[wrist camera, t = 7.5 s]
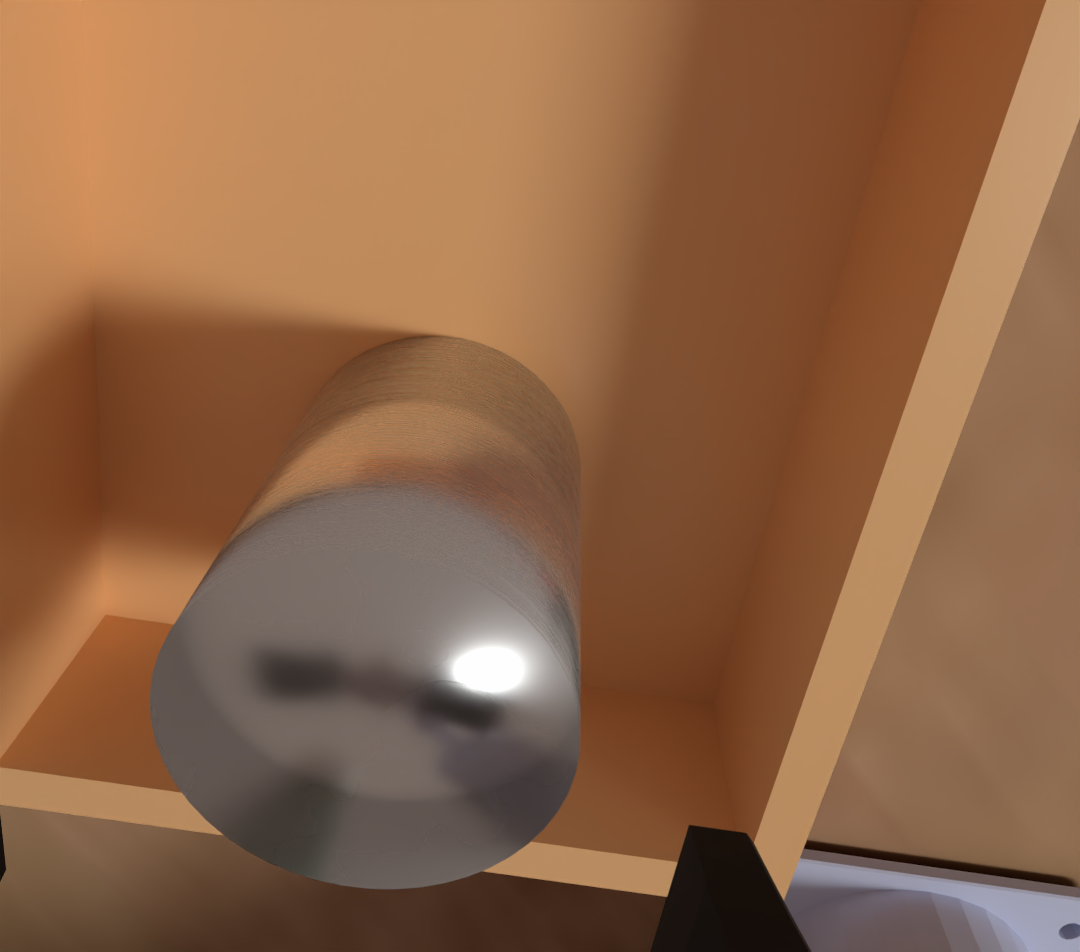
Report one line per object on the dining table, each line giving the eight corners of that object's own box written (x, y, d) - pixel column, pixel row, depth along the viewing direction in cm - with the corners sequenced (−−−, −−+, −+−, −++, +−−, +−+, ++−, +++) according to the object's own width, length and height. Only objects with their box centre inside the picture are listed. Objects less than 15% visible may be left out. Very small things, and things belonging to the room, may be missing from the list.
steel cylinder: (550, 610, 19) (535, 918, 13) (288, 562, 19) (145, 852, 13) (608, 367, 17) (624, 597, 11) (313, 309, 17) (154, 509, 11)
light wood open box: (736, 714, 21) (779, 911, 17) (83, 619, 21) (-52, 797, 16) (1057, -317, 13) (1298, -459, 9) (24, -518, 13) (-269, -780, 8)
